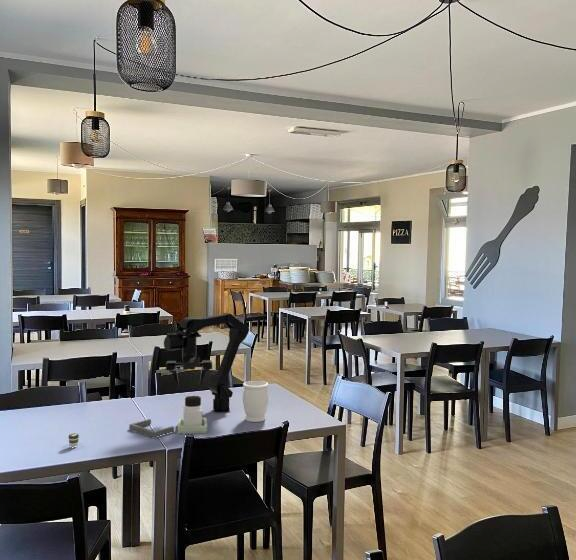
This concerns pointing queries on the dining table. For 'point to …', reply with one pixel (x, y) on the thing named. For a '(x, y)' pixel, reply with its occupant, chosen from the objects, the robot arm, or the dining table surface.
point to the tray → (192, 427)
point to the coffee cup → (73, 439)
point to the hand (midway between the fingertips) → (189, 385)
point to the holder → (139, 428)
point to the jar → (255, 400)
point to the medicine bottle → (192, 411)
